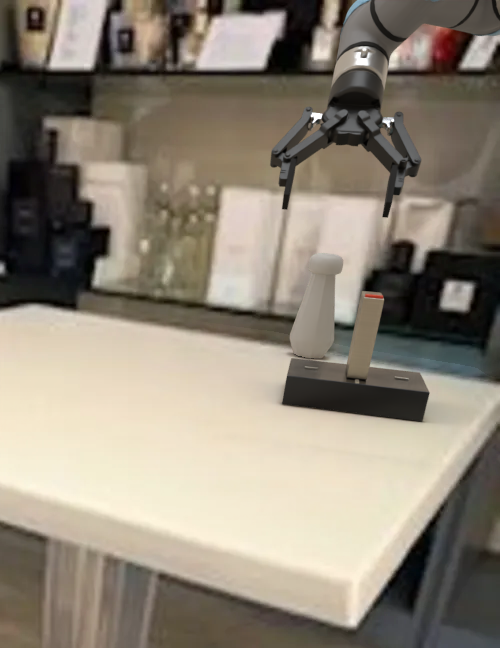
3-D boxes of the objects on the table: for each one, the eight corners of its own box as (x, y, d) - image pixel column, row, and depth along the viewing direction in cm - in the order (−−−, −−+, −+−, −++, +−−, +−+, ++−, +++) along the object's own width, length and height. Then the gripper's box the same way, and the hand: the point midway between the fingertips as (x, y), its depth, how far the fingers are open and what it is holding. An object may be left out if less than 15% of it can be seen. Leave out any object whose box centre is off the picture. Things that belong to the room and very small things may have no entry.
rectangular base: (413, 399, 98) (420, 370, 96) (422, 421, 88) (430, 390, 87) (286, 384, 101) (291, 356, 100) (281, 404, 91) (287, 373, 90)
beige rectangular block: (345, 366, 96) (362, 288, 93) (364, 369, 96) (382, 290, 92) (346, 377, 91) (364, 294, 87) (366, 380, 90) (385, 296, 87)
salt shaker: (294, 358, 116) (313, 254, 111) (280, 350, 122) (298, 250, 116) (337, 360, 117) (357, 257, 111) (321, 352, 122) (340, 253, 116)
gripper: (272, 64, 126) (246, 178, 120) (455, 71, 121) (438, 191, 114) (267, 108, 133) (243, 218, 127) (441, 118, 128) (424, 233, 121)
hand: (335, 206), depth 121 cm, fingers open, 13 cm apart
